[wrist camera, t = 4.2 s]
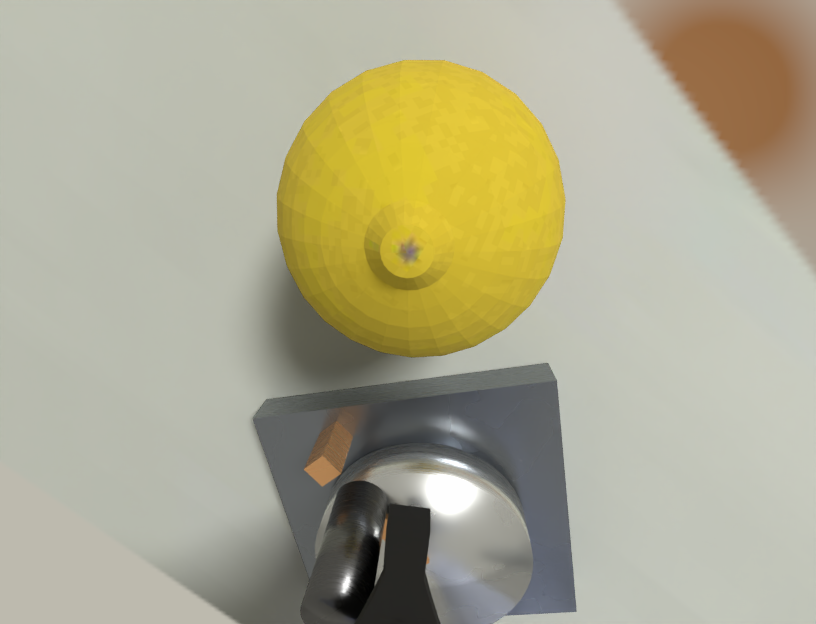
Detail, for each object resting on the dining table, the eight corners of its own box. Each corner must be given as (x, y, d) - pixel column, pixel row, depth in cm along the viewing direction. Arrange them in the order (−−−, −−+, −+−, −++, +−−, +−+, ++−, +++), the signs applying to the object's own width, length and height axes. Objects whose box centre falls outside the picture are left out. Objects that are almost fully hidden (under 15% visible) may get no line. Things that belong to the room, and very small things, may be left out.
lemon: (499, 298, 14) (568, 470, 6) (328, 270, 14) (193, 404, 6) (544, 109, 12) (720, 27, 4) (345, 78, 12) (180, -54, 4)
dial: (517, 433, 14) (556, 577, 9) (530, 593, 16) (566, 774, 11) (306, 450, 15) (242, 590, 10) (348, 599, 17) (310, 770, 12)
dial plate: (568, 582, 18) (591, 663, 15) (332, 597, 19) (313, 674, 16) (547, 362, 14) (573, 413, 12) (266, 399, 16) (227, 452, 13)
